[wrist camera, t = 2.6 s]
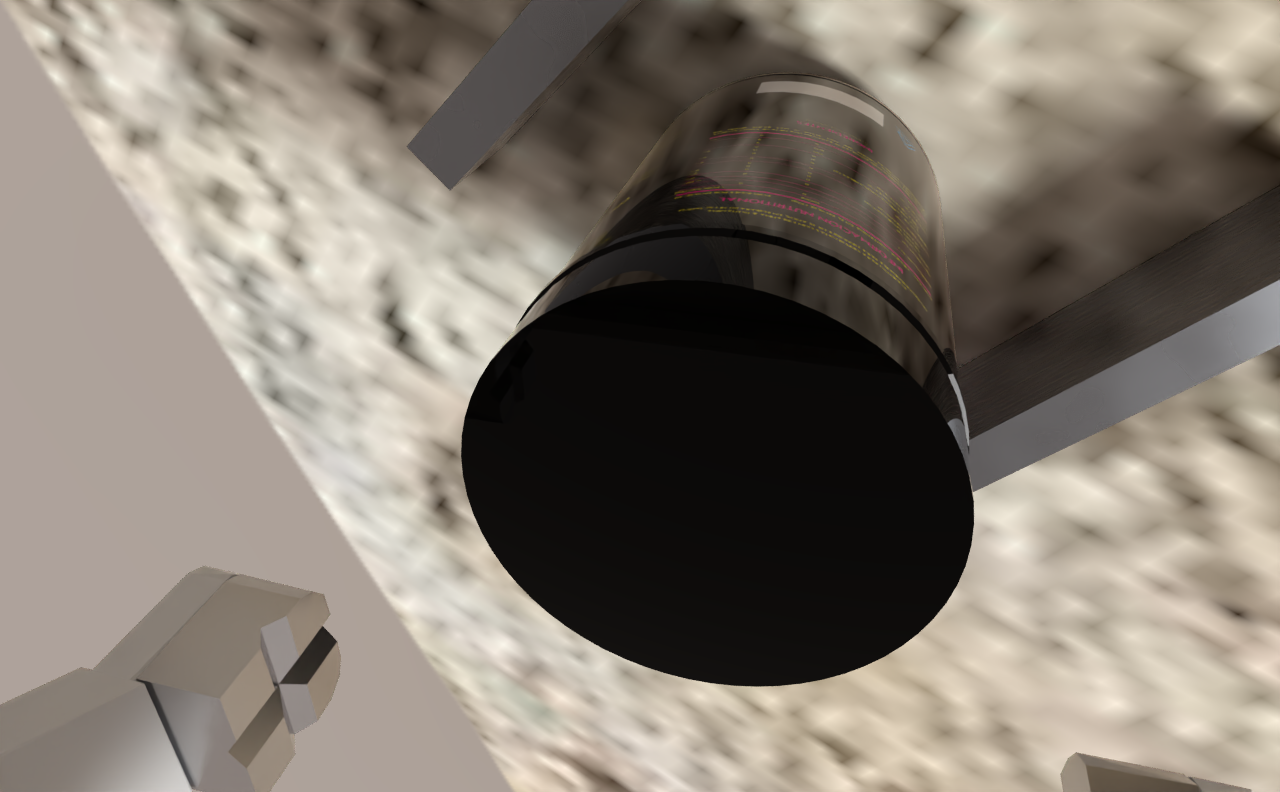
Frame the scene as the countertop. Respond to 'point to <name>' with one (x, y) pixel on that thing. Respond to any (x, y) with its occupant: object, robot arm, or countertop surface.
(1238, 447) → the countertop surface
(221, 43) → the countertop surface
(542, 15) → the metal angle brackets
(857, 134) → the supplement container
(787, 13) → the countertop surface
